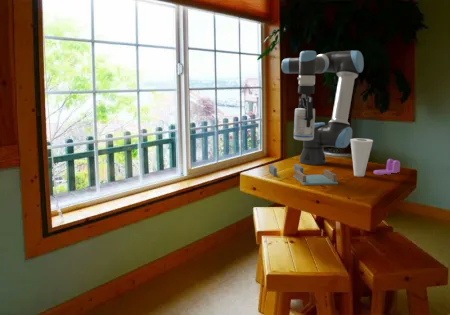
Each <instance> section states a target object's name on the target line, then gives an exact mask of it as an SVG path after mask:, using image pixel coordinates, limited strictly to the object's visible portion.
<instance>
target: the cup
mask: <svg viewBox="0 0 450 315" xmlns="http://www.w3.org/2000/svg"><path fill="white" fill-rule="evenodd" d="M373 142H374V140H373V139H371V138H351V139H350V148H351V158H352V169H353V176H354V177H358V178H359V177H365V174H366V170H367V167H368V166H367V164H368V162H369V158H370V153H371V151H372V146H373Z"/></svg>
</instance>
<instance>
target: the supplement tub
mask: <svg viewBox="0 0 450 315" xmlns="http://www.w3.org/2000/svg"><path fill="white" fill-rule="evenodd" d="M306 110H307V109H305V108H295V109H294V118H293V119H294V121H293V122H294V123H293V139H294V140H295V141H296V140H297V141H303V140H305V141H308V140H313V139H314V124H315V123H316V122H315V120H316V109H315V108H313V119H312V120H311V131H310V134H304V127H305V120H304V119H305V118H306V117H305V113H306V112H305V111H306Z"/></svg>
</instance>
